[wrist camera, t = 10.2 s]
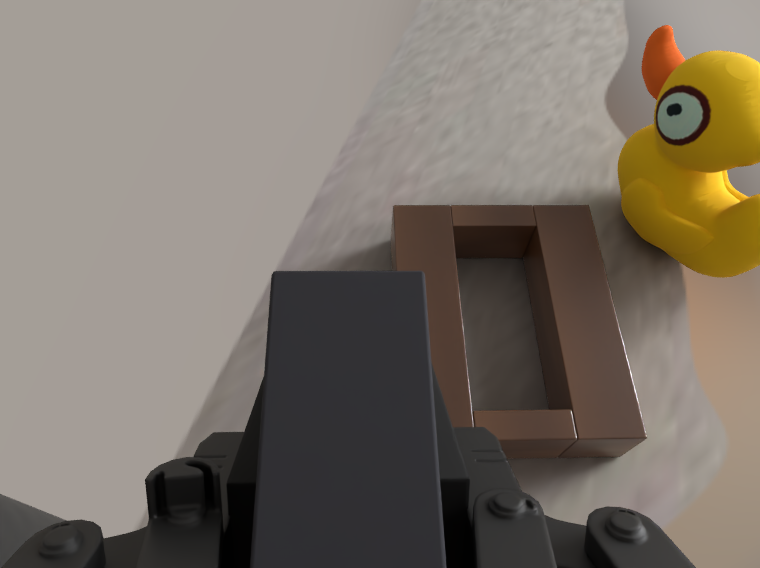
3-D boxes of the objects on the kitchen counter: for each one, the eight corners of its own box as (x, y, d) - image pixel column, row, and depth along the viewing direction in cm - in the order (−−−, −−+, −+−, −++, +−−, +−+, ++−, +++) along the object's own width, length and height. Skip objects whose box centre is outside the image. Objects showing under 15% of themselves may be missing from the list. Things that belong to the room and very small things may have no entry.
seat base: (399, 461, 27) (404, 442, 24) (390, 238, 33) (393, 204, 30) (620, 457, 27) (648, 438, 25) (571, 238, 33) (589, 204, 31)
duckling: (559, 163, 36) (622, 14, 27) (632, 138, 37) (714, -13, 29) (681, 319, 31) (806, 195, 22) (761, 283, 32) (908, 153, 24)
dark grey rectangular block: (296, 713, 16) (230, 802, 8) (306, 424, 20) (271, 269, 12) (406, 709, 16) (463, 792, 8) (395, 422, 20) (425, 268, 12)
